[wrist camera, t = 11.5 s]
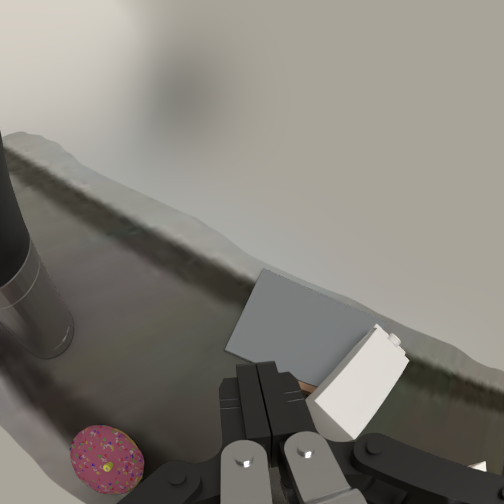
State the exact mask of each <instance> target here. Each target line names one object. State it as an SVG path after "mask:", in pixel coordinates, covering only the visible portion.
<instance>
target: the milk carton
mask: <svg viewBox="0 0 504 504" xmlns="http://www.w3.org/2000/svg"><path fill="white" fill-rule="evenodd" d="M400 343H401V341H400V340H399V339H398V338H397V337H396V336H395V335H394V334H393V333H391V334H390V336H389V335H388V334H387V333H386V332H385V331H384V330H383V329H382V328H381V327H380V326H379V325H378V324H376V325H375V326H374V327H373V328H372V330H371V331H370V332H369V333H368V334H367V335H366V336H365V337H364V338H363V339H362V340H361V341H360V342H359V343H358V344H357V345H356V346H355V347H354V348H353V349H352V350H351V351H350V352H349V353H348V355H347V356H346V357H345V358H344V359H343V360H342V361H341V362H340V364H339V365H338V366H337V367H336V368H335V369H334V370H333V371H332V372H331V373H330V374H329V376H328V377H327V378H326V379H325V380H324V381H323V382H322V383H321V384H320V385H319V386H318V387H317V389H316V390H315V391H314V392H313V393H311V394H310V395H309V396H308V397H307V398H306V399H305V401H306V403H307V406H308V409H309V411H310V414H311V417H312V419H313V422H314V425H315V427H316V429H317V431H318V433H319V434H320V435H321V436H323V437H324V438H326V439H328V440H331V441H335V442H346V441H351V440H354V439H356V438H357V436H358V435H359V434H360V433H361V431H362V430H363V429H364V427H365V426H366V425H367V423H368V422H369V421H370V419H371V418H372V417H373V415H374V414H375V413H376V411H377V410H378V408H379V407H380V406H381V404H382V403H383V401H384V400H385V398H386V397H387V395H388V394H389V392H390V391H391V389H392V388H393V386H394V385H395V383H396V382H397V380H398V378H399V377H400V375H401V374H402V372H403V370H404V369H405V367H406V365H407V364H408V362H409V360H408V359H407V358H406V357H405V356H404V355H405V351H404V350H403V349H402V348H401V347H400V346H399V344H400Z"/></svg>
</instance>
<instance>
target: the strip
mask: <svg viewBox="0 0 504 504" xmlns="http://www.w3.org/2000/svg"><path fill="white" fill-rule="evenodd" d="M298 382H299V384H300V387H301V391H302V392H303V394H306V395H310V394H311V393H313V392H314V391H315V390H316V389H317V387H314V386H311V385H309V384H306V383H303V382H300V381H298Z"/></svg>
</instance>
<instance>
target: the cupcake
mask: <svg viewBox="0 0 504 504" xmlns="http://www.w3.org/2000/svg"><path fill="white" fill-rule="evenodd" d="M70 449H71V453H70V457H71V462H72V465H73V468H74V470H75V473H76V475H77V476H78V477H79V478H80V479H81V480H82V482H84V483H85V484H86V485H87V486H89V487H91V488H92V489H94V490H96V491H97V492H100V493H103V494H108V493H110V494H122V493H125V492H127V491H129V490H131V489H133V488H134V487H135V486H136V485H137V484H138V483H139V482H140V480H141V479H142V476H143V468H144V458H143V455H142V453H141V451H140V450H139V449H138V447H137V445H136V444H135V443H134V441H133V440H132V439H130V437H129V436H128V435H127V434H125V433H124V432H122V431H120V430H118V429H115V428H112V427H110V426H106V425H102V424H100V425H94V426H89V427H87V428H85V429H84V430H82V431H81V432H79V433H78V434H77V435H76V437H75V438H74V439H73V442H72V445H71V448H70Z"/></svg>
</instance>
